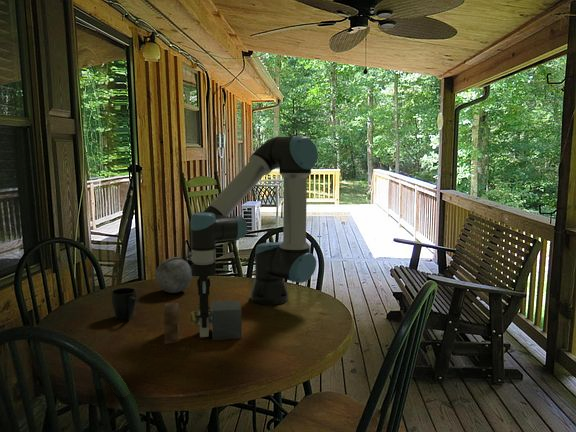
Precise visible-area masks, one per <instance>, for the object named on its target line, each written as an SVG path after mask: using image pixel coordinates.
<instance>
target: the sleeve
mask: <svg viewBox="0 0 576 432" xmlns="http://www.w3.org/2000/svg"><path fill="white" fill-rule="evenodd" d="M210 305H211V306H210V310H212V323H210V326H211V328H210V329H211V337H212V341H221V340H232V339H233V340H236V339H242V306H241V303H240V301H239V300H238V299H237V300H223V301H222V300H219V301H218V300H217V301H216V300H215V301H210Z"/></svg>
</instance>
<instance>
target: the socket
mask: <svg viewBox="0 0 576 432" xmlns="http://www.w3.org/2000/svg"><path fill="white" fill-rule="evenodd" d="M179 313H180V312H179V303H178V302H170V303H169V302H168V303H165V305H164V311H163V328H164V329H163V330H164V331H163V332H164V337H163V338H164V339H163V340H164V344H178V343H179V334H180V333H179V332H180V329H179V328H180V327H179V324H180V321H179V320H180V319H179Z"/></svg>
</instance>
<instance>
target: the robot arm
mask: <svg viewBox="0 0 576 432" xmlns="http://www.w3.org/2000/svg"><path fill="white" fill-rule="evenodd" d="M318 158H319V151H318V148H317V146H316V144H315V142H314V141H313V140H312V139H311V138H310V137H308V136H303V135H292V136H275V137H272V138H270V139H268V140H267V141H265V142H264V143H263V144H261V145H260V146H259V147H258V148H257V149H256V150H254V151H253V153H252V154H251V155H250V156H249V158H248V162H247V163H246V165H244V167H242V169H241V170H240V171H239V172H238V173H237V174H236V175H235V176H234V178H233V179H232V180H231V181H230V182H229V183H228V184H227V185H226V186H225V187H224V189H222V191H221V192H220V193H219V194H218V196H217V197H215V198H214V199H213V201H212V202H210V204H209V205H208V206H207V207H206V208H205V209H204V210H203V211H197V212H195V213H193V214H192V215H191V218H190V227H189V229H190V247H191V248H190V249H191V251H189V252H188V255H190V256H191V257H190V258H191V260H190V261H191V262H192V263H191V265H190V267H191V274H192V277H193V276H194V277H198V278H197V279H196V283H197V292H198V293H197V294H198V296H199V304H198V306H199V307H198V308H199V311H200V316H198V318H200V324H199V337H200V338H207V337H208V338H209V333H210V329H209V325H210V323H209V314H208V311H209V310H211V306H209V295H210V287H211V280H210V279H211V278H208V277H212V276H214V275H215V274H216V268H217V267H216V266H217V265H216V259H217V258H216V254H217V253H216V252H217V251H216V250H217V249H216V243H217V242H224V241H233V240H238V239H242V238H244V237H245V236H246V235H247V233H248V224H247V220H246V219H245V218H244V217H243V216H242V215H241V216H240V215H237V216H236V215H232V216H230V215H231V213H232V212H233V211H234V210H235V209H236V208H237V206H238V205H239V204H240V203H241V202H242V201H243V200H244V198H245V197H247V195H248V194H249V193H250V192H251V191H252V190H253V188H255V186H256V185H257V184H258V183H259V182H260V180H261V179H262V178H264V176H268V175H269V174H270V173H271V172H272V171H273V170H275V169H279V175H281V177H282V178H283V205H282V206H283V209H282V210H283V217H282V218H283V219H282V220H283V226H282V227H283V229H282V230H283V233H282V234H283V239H282V241H274V242H273V241H272V242H262V243H259V244H257V245H256V247H255V251H254V252H255V254H254V255H255V256H254V258H255V259H254V262H255V263H254V265H255V266H254V267H255V269H254V271H255V272H254V273H255V275H254V276H255V278H254V279H255V280H254V283H253V286H252V289H251V292H250V300H251V301H252V302H253V303H255V304H259V305H269V306H271V305H279V304H283V303H286V302H288V300H289V292H288V289H287V285H286V283H285V280H287V281H290V282H291V283H292V282H293V283H298V284H302V283H305V282H307V281H309V280H310V279H311V278H312V276H313V275H314V273H315V271H316V267H317V259H316V257H315V255H314V254H313V253H311V245H310V244H309V243H308V242H307V199H308V198H307V197H308V195H307V193H308V192H307V188H308V187H307V186H308V185H307V183H308V181H307V180H308V177H310V175H311V174H312V169H313V168H314V167H315V166H316V165H317V163H318V160H319V159H318Z"/></svg>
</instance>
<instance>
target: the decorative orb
mask: <svg viewBox="0 0 576 432" xmlns="http://www.w3.org/2000/svg"><path fill="white" fill-rule="evenodd" d="M154 277H155V281H156V284H157V285H158V287H159V288H160V289H162V290H163V291H164V292H165V293H169V294H177V293H180V292H182V291H185V289H187V287H189V286H190V284H191V281H192V279H193V275H192V274H191V265H190V264H189V263H188V262H187V261H186V260H185V259H183V258H181V257H179V256H178V257H177V256H174V257H170V258H167V259H165V260H163V261H162V262H161V263H160V264H159V265H158V267H157V268H156V269H155V273H154Z"/></svg>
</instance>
